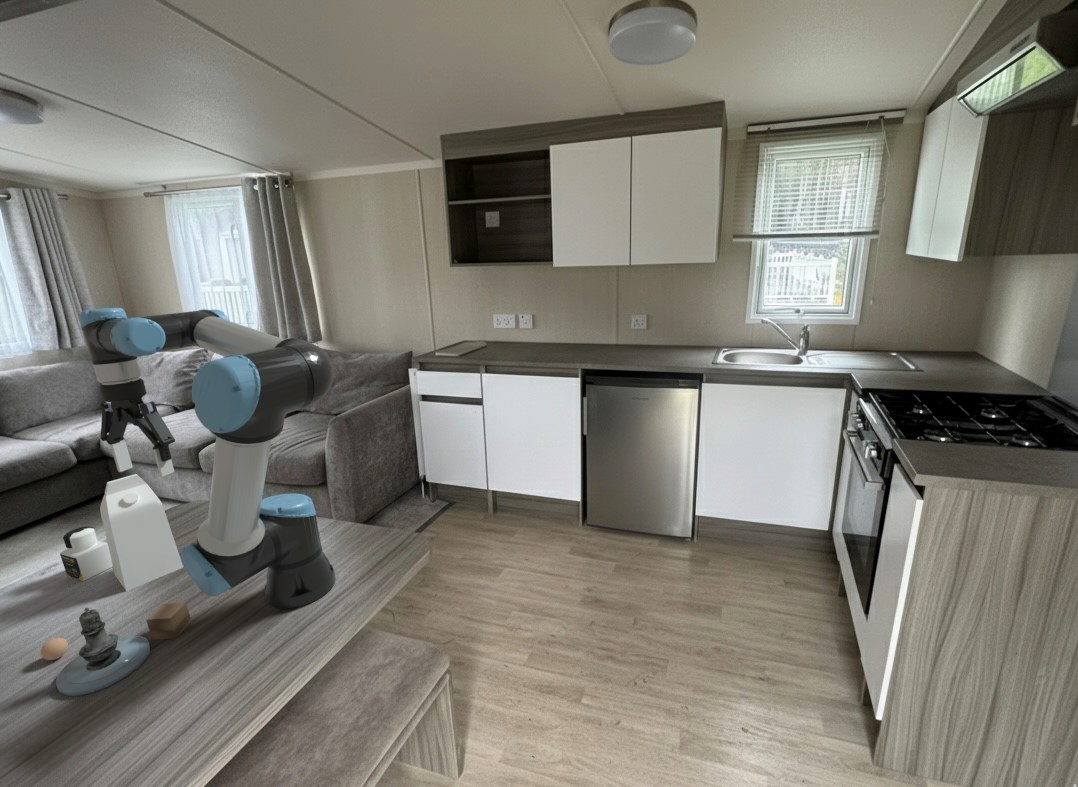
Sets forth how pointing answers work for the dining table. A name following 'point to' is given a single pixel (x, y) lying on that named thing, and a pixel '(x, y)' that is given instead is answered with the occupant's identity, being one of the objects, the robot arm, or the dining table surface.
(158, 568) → the milk
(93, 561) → the medicine bottle
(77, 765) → the dining table surface
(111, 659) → the stone chess piece
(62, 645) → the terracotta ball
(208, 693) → the dining table surface
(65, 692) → the plate
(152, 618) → the walnut block
